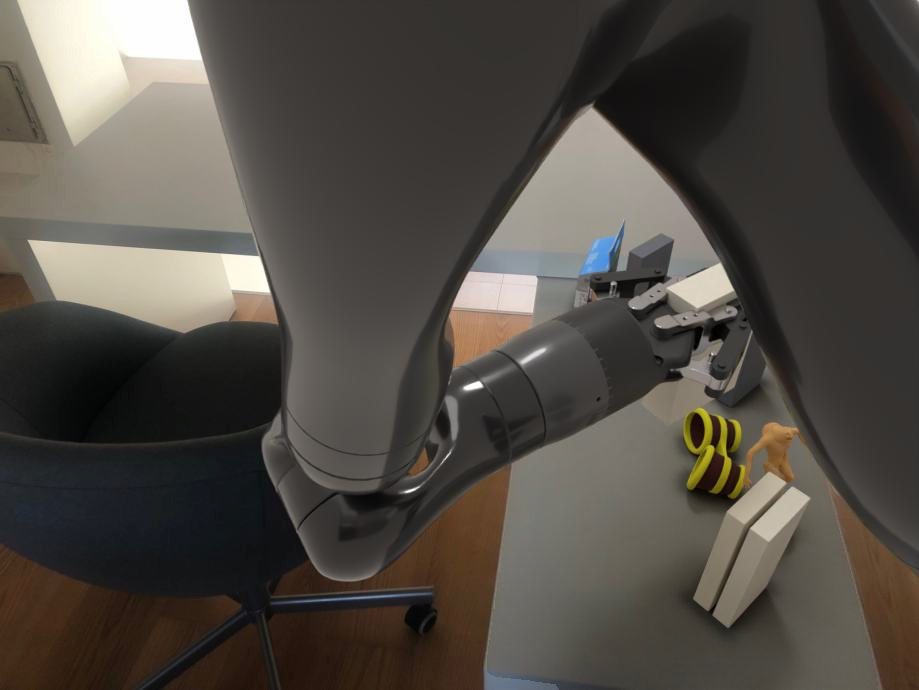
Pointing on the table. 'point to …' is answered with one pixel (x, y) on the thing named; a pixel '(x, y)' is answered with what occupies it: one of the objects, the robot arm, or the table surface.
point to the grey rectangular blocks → (659, 255)
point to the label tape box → (598, 263)
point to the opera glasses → (713, 453)
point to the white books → (749, 547)
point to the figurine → (774, 452)
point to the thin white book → (687, 394)
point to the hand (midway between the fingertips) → (739, 288)
